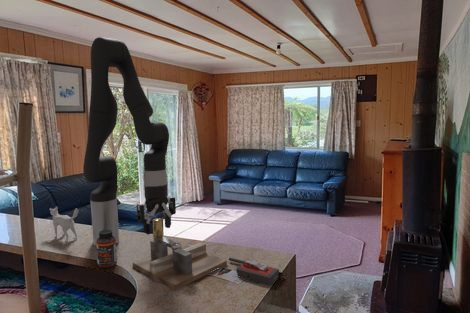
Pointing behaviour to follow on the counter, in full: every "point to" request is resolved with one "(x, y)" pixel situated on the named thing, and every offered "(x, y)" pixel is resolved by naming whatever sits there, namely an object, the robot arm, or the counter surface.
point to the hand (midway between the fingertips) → (157, 230)
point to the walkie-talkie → (257, 271)
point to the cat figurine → (63, 222)
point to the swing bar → (159, 234)
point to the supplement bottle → (106, 249)
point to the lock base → (177, 277)
